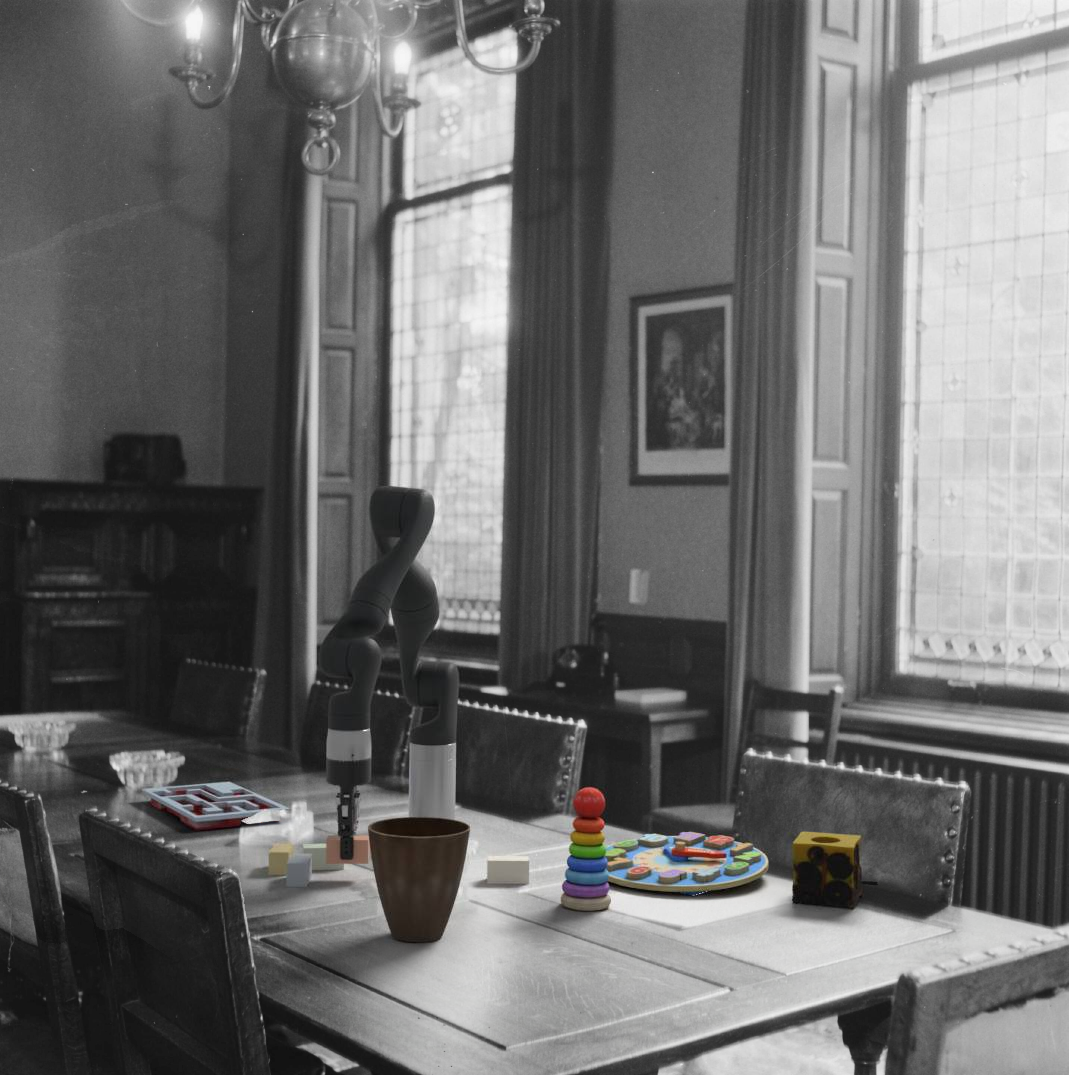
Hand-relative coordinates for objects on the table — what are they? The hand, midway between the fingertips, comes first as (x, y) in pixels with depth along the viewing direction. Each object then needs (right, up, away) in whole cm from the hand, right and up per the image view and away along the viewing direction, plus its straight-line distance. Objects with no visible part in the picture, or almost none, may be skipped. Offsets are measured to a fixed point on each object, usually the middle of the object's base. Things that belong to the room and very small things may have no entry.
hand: (347, 856), depth 239 cm
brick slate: (-8, -4, -2) cm, 9 cm away
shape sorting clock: (+57, -5, +7) cm, 57 cm away
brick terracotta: (0, -1, 0) cm, 1 cm away
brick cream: (+27, -5, +1) cm, 27 cm away
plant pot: (+14, -4, -33) cm, 36 cm away
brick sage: (-5, -4, +8) cm, 11 cm away
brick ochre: (-12, -4, +6) cm, 14 cm away
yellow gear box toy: (+79, -6, -8) cm, 80 cm away
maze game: (-35, -4, +56) cm, 66 cm away
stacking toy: (+40, -5, -15) cm, 43 cm away
